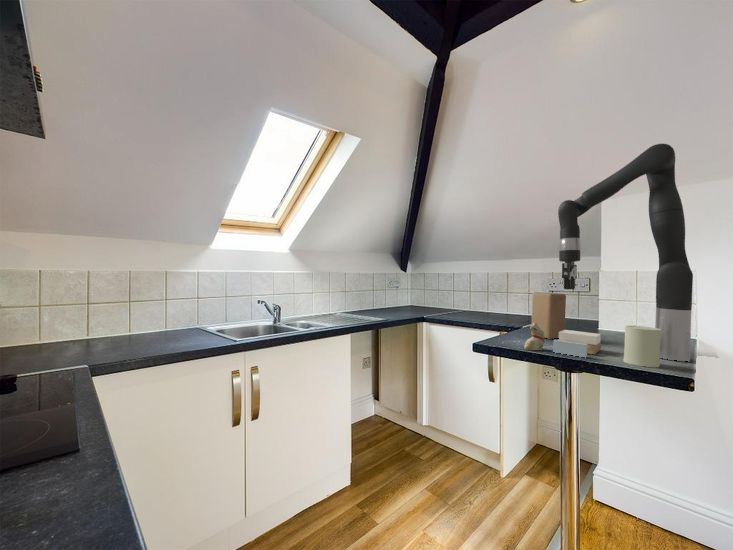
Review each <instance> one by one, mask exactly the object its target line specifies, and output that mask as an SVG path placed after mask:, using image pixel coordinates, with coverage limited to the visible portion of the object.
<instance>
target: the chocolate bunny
mask: <svg viewBox="0 0 733 550" xmlns="http://www.w3.org/2000/svg"><path fill="white" fill-rule="evenodd" d="M529 330H530V332H531V331H532V333H533V336H532V335H531V336H530V338H528V339H526V341H525V343H524V348H523V349H524V350H525V351H530V350H541V351H543V350H544V348H543V346H544V344H545V339H544V338H545V336H544V331H542V330H541V329H540V328H539V327H538V325H537V324H536V323H533V325H532V326H531V325H530V326H529ZM542 349H543V350H542Z"/></svg>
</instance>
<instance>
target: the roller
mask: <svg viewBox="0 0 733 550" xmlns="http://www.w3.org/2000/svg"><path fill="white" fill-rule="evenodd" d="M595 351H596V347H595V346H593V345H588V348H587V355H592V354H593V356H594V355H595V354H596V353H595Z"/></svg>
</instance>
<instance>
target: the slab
mask: <svg viewBox="0 0 733 550" xmlns="http://www.w3.org/2000/svg"><path fill="white" fill-rule="evenodd" d="M558 340H563V341H571V342H578V343H585V344H592V345H597V344H598V343H600V342H601V333H595V332H587V331H579V330H578V331H577V330H570V329H565V330H563V331H560V332H559V339H558Z"/></svg>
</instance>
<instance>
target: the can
mask: <svg viewBox="0 0 733 550" xmlns="http://www.w3.org/2000/svg"><path fill="white" fill-rule="evenodd" d="M660 336H661V329H658V328H655V327H651V326H641V325H625V326H624V348H623V349H624V350H623V351H624V352H623V360H622V362H624V363H626V364H629V365H632V366H638V367H643V366H646V367H645V368H660V367H661V365H660V364H661V363H660V359H661V358H660ZM659 366H660V367H659Z"/></svg>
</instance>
